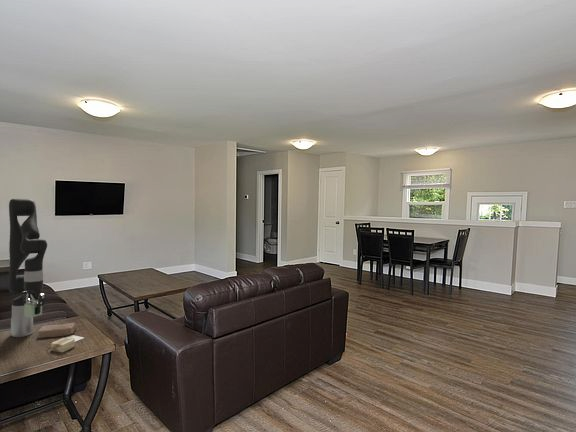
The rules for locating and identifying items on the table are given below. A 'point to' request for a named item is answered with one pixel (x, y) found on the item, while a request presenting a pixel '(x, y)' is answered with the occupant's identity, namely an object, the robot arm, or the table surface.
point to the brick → (57, 330)
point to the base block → (62, 344)
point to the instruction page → (75, 337)
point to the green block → (31, 310)
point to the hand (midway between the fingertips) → (33, 313)
